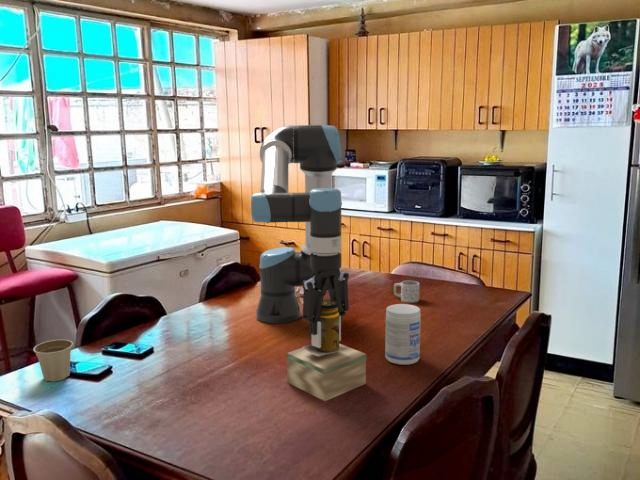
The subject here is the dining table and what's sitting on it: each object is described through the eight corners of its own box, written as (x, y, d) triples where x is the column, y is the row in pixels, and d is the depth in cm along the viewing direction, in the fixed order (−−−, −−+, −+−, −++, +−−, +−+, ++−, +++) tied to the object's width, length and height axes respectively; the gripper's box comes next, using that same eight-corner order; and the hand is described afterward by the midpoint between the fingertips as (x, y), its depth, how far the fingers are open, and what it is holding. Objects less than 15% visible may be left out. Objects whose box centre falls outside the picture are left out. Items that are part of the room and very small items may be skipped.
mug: (421, 299, 220) (422, 282, 219) (414, 303, 215) (415, 286, 214) (397, 295, 226) (397, 278, 224) (389, 299, 220) (390, 282, 219)
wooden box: (287, 382, 150) (286, 352, 148) (327, 367, 159) (327, 339, 158) (324, 401, 140) (324, 369, 138) (366, 383, 149) (366, 353, 148)
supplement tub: (416, 367, 159) (418, 315, 156) (381, 363, 161) (382, 312, 159) (421, 354, 168) (423, 304, 165) (388, 351, 170) (389, 302, 168)
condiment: (346, 349, 147) (346, 303, 144) (318, 357, 142) (317, 309, 140) (329, 341, 152) (329, 296, 150) (301, 348, 148) (301, 302, 146)
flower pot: (51, 388, 148) (47, 355, 146) (29, 379, 153) (25, 348, 151) (83, 374, 156) (80, 343, 154) (61, 367, 161) (58, 337, 159)
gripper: (306, 261, 134) (307, 357, 139) (364, 249, 147) (363, 337, 151) (285, 256, 139) (287, 348, 144) (343, 244, 152) (342, 330, 157)
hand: (326, 342), depth 148 cm, fingers closed on condiment, 6 cm apart
